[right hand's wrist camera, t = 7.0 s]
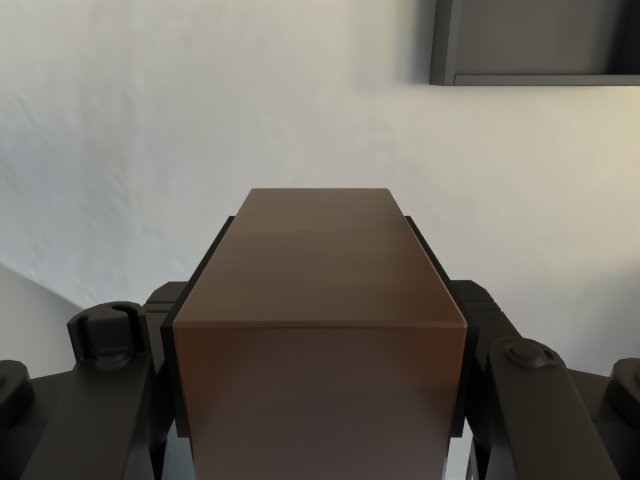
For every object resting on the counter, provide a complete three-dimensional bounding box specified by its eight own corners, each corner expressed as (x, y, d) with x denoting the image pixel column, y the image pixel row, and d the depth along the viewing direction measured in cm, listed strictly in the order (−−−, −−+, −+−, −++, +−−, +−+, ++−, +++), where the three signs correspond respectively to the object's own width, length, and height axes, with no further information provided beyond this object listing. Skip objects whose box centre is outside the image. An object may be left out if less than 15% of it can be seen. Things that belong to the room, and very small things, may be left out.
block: (388, 187, 14) (470, 323, 6) (381, 307, 15) (438, 527, 8) (251, 187, 14) (169, 323, 6) (258, 307, 15) (200, 527, 8)
